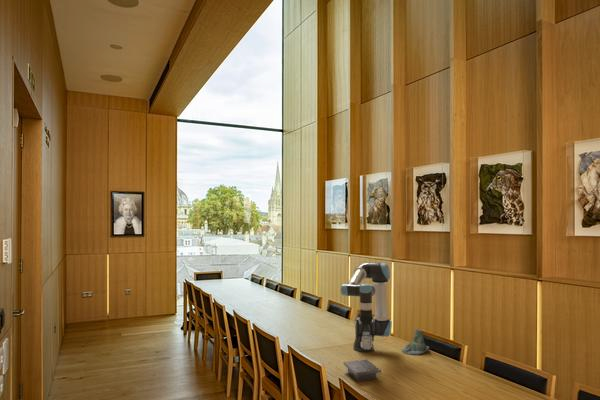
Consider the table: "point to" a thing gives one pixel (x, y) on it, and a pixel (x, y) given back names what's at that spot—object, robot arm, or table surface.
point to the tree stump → (416, 345)
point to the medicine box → (366, 340)
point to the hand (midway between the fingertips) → (366, 346)
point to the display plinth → (362, 370)
